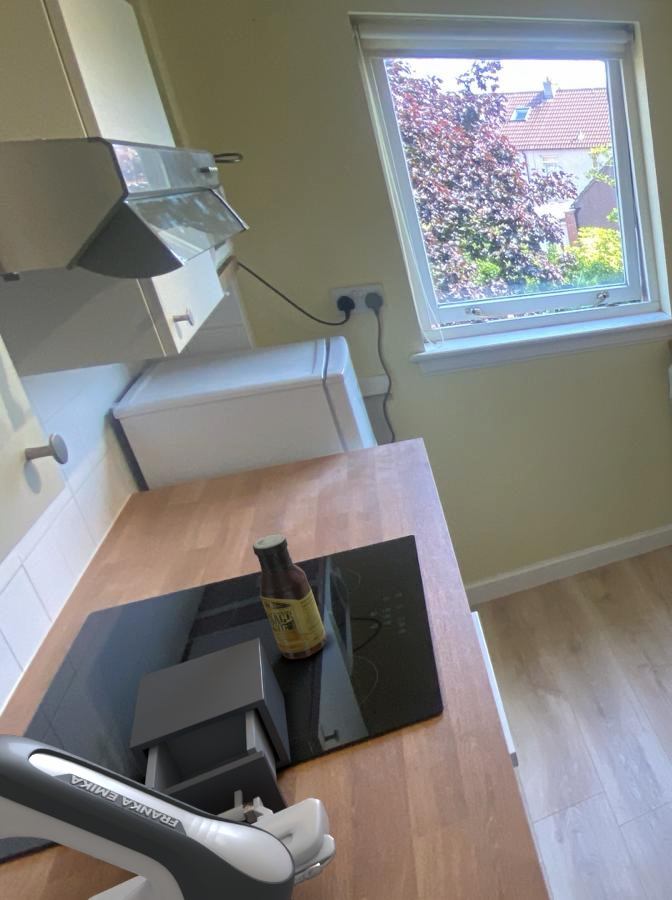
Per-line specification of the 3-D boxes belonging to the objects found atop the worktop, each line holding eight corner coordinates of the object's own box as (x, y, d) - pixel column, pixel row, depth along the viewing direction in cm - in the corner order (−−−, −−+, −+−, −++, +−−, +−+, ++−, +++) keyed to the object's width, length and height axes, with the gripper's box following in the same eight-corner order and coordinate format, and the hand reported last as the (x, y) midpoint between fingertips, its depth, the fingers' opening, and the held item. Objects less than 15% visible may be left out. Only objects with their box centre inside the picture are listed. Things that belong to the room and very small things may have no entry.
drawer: (290, 837, 83) (265, 781, 79) (161, 897, 77) (127, 839, 73) (281, 741, 96) (259, 688, 93) (170, 785, 90) (141, 731, 87)
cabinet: (291, 763, 94) (263, 698, 90) (165, 815, 87) (128, 748, 83) (283, 697, 105) (259, 637, 101) (171, 739, 98) (139, 676, 94)
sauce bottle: (273, 657, 113) (228, 547, 105) (309, 632, 119) (270, 526, 110) (303, 666, 111) (260, 555, 103) (339, 640, 117) (301, 533, 108)
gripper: (329, 842, 74) (313, 754, 84) (57, 976, 63) (76, 855, 73) (347, 882, 76) (329, 792, 86) (89, 1017, 65) (103, 895, 75)
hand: (212, 822), depth 79 cm, fingers closed on drawer, 6 cm apart
